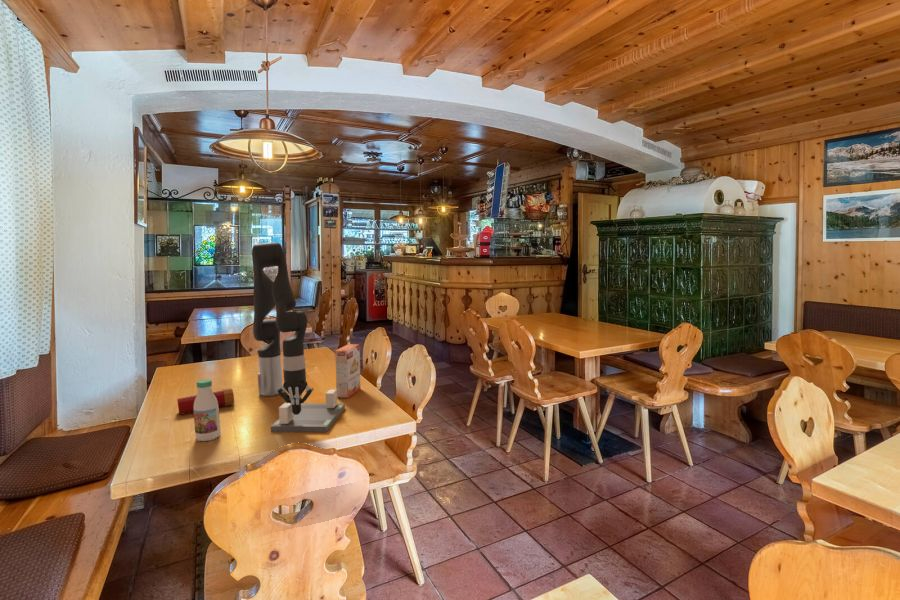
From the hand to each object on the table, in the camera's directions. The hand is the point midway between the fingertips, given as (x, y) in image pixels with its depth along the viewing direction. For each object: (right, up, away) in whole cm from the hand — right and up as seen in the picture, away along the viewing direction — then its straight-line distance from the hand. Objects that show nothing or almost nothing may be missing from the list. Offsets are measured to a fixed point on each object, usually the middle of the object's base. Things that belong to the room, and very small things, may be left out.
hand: (296, 413), depth 171 cm
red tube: (-43, -4, +21) cm, 49 cm away
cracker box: (+11, 0, +39) cm, 40 cm away
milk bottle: (-28, -7, -7) cm, 30 cm away
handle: (+9, -1, +16) cm, 18 cm away
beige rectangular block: (-4, -3, 0) cm, 5 cm away
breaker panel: (+2, -4, +8) cm, 10 cm away
